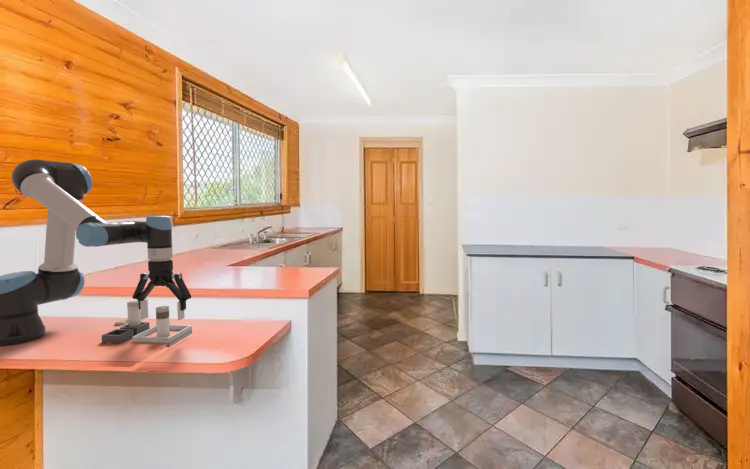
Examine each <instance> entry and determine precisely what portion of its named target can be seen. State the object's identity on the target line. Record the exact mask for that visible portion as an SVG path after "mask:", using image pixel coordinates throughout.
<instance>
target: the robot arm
mask: <svg viewBox="0 0 750 469" xmlns="http://www.w3.org/2000/svg"><path fill="white" fill-rule="evenodd" d="M11 181H12V184H13V186H14V187H15V189H16V190H17V191H19V192H20V193H21V194H22V195H23V196H25V197H27V198H29V199H34V200H36V202H38V203H39V204H40V205H42V206H44V207H45V208H46V209H47V214H46V217H47V218H46V228H45V243H44V245H45V246H44V260H43V262H42V263H41V264H40V265H38V269H37V273H36V271H32V270H24V271H22V270H21V271H18V272H10V273H7V274H5V273H4V274H1V275H0V346H1V347H2V346H10V345H17V344H22V343H26V342H30V341H33V340H36V339H39V338H41V337H43V336H45V335H46V334H47V330H46V329H47V328H46V326H45V325H44V323H43V320H42V319H41V316H40V315H39V307H38V306H39V305H43V304H47V303H48V304H49V303H52V302H57V301H65V300H68V299H70V298H73V297H76V296H78V295H79V294H80V293H81V292H82V290H83V289H84V286H85V276H84V274H83V272H82V271H81V270H80V269H79V266H78V265H77V264H76V263H74V258H75V246H76V245H75V244H76V243H75V242H76V240H78V243H79V244H80V245H81V246H84V247H90V248H91V247H94V248H96V247H106V246H111V245H120V244H122V245H123V244H131V243H132V244H133V243H146V246H147V259H148V261H147V268H148V270H147V271H148V272H149V273H148V272H141V273H140V275H139V281H138V284H137V285H136V287H135V290H134V292H133V295H132V300H136V301H138V303H139V309H141V320H145V319H147V318H149V302H148V300H149V299H147V297H148V296H149V294H151V292H152V291H153V289H154V288H155V287H166V288H167V289H169V290H170V291H171V293H172V294H173V295H174V296H175V297H176V299H177V300H178V301H177V303H176V306H177V309H176V310H177V321H182V320H184V319H185V310H186V309H187V301H188V300H191V299H192V295H191V293H190V290H189V289H188V287H187V285H186V283H185V281H184V279H183V275H182V273H181V272H177V273H174V272H173V270H174V263H173V262H174V261H173V259H172V258H173V257H174V256H173V238H172V237H173V235H172V233H173V232H172V230H173V227H172V220H171V217H170V216H168V215H147V216H146V218H145V221H140V220H139V221H138V220H125V221H110V222H109V221H105V219H103V218H102V217H100V216H99V215H97V214H96V213H95V212H93V211H92V210H91V209H89V208H88V207H87V206H86V205H84V204H83V203H82V201H83V200H84V196H85V195H86V194H89V193H90V191H91V190H93V189H92V188H93V178H92V176H91V173H90V172H89V170H88V169H87V168H86V167H85V166H83V165H80V164H77V163H71V162H64V161H53V160H47V159H45V160H44V159H37V158H36V159H27V160H25V161H21V162H20V163H18V164H17V165H16V166H15V167H14V168H13V170H12V173H11ZM148 280H150V281H149V282H148ZM147 283H148V284H147ZM146 284H147V285H146Z"/></svg>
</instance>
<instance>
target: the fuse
mask: <svg viewBox="0 0 750 469" xmlns="http://www.w3.org/2000/svg"><path fill="white" fill-rule="evenodd" d="M126 307H127V309H126V310H127V318H128V327H138V326H140V325H141V322H142V319H141V309H139V303H138V300H132V301H128V302H126Z"/></svg>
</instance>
